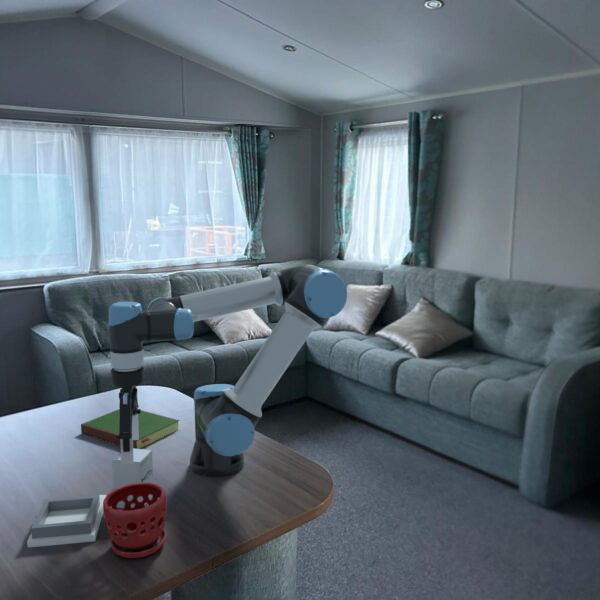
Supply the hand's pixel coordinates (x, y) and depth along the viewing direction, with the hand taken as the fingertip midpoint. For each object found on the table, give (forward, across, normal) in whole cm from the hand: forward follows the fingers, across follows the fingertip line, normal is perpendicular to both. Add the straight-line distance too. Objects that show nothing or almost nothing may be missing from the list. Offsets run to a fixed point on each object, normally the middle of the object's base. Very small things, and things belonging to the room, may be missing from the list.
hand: (130, 451), depth 146 cm
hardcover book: (+14, -45, -4) cm, 48 cm away
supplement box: (+14, 0, 0) cm, 14 cm away
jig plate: (+14, +7, -14) cm, 20 cm away
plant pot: (+14, +19, +3) cm, 24 cm away
